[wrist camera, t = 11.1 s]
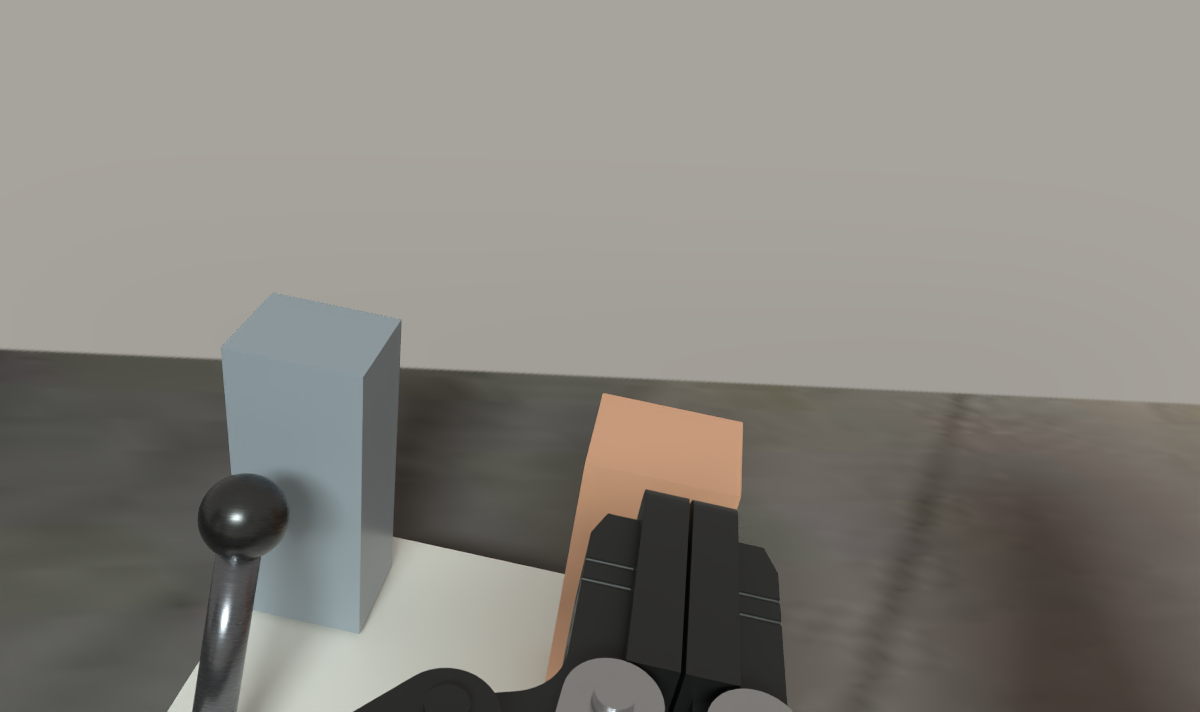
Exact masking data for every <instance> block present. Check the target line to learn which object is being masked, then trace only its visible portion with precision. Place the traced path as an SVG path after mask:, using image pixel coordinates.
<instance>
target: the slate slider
mask: <svg viewBox="0 0 1200 712" xmlns="http://www.w3.org/2000/svg"><path fill="white" fill-rule="evenodd" d="M400 344H401V319H396V318H392V317H387V316H382V315H378V314H373V313H368V312H363V311H359V310H354V309H349V308H344V307H339V306H335V305H330V304H325V303H320V302H315V301H310V300H306V299H301V298H296V297H291V296H287V295H282V294H277V293H272V294H271V295H270V296H269V297H268V298H267V299H266V300H265V301H264V302H263V303H262V305H261V306H260V307H259V308H258V309H257V310H256V311H255V312H254V313H253V314H252V315H251V316H250V317H249V318H248V319H247V320H246V321H245V322H244V323H243V324H242V325H241V327H240V328H239V329H238V330H237V331H236V332H235V333H234V334H233V335H232V336H231V337H230V338H229V339H228V340H227V341H226V342H225V343H224V344H223V345H222V347H221V354H222V366H223V378H224V390H225V402H226V413H227V425H228V437H229V449H230V461H231V472H232V475H236V474H241V473H252V474H258V475H261V476H264V477H266V478H268V479H270V480H272V481H273V482H274V483H276V484H277V485H278V486H279V487H280V488H281V490H282V491H283V492H284V494H285V496H286V498H287V500H288V504H289V508H290V520H289V525H288V528H287V531H286V533H285V535H284V537H283V538H282V540H281V541H280V543H279V544H278V545H277V546H276V547H275V548H274V549H272V550H271V551H270V552H268V553H267V554H265V555H263V556H261V561H260V568H259V574H258V580H257V587H256V593H255V600H254V606H253V610H254V611H259V612H263V613H268V614H272V615H277V616H281V617H285V618H290V619H294V620H299V621H303V622H308V623H312V624H317V625H321V626H326V627H330V628H335V629H339V630H344V631H348V632H353V633H357V634H360V632H361V629H362V627H363V625H364V623H365V621H366V619H367V617H368V615H369V612H370V610H371V608H372V606H373V604H374V602H375V600H376V598H377V595H378V593H379V591H380V589H381V587H382V585H383V583H384V580H385V578H386V576H387V574H388V572H389V570H390V568H391V566H392V544H393V519H394V494H395V470H396V445H397V420H398V395H399V370H400Z"/></svg>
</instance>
